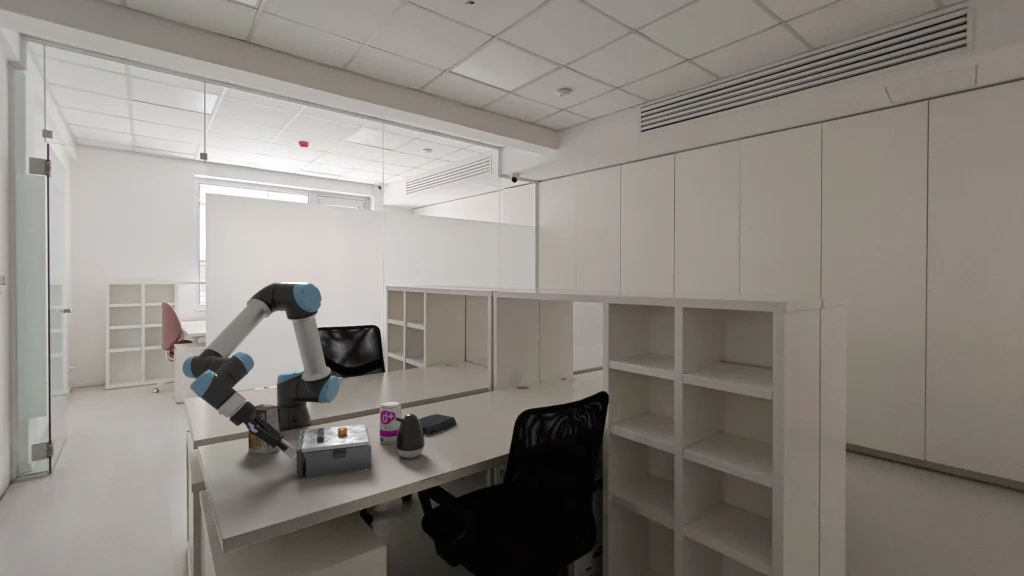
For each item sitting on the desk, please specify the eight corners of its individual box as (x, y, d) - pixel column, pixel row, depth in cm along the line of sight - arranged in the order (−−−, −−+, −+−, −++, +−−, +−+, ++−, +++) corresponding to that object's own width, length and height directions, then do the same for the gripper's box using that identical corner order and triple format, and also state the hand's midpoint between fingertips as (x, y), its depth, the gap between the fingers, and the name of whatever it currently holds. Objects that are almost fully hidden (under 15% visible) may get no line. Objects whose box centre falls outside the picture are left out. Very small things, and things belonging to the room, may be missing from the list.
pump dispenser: (393, 452, 171) (393, 411, 171) (421, 449, 175) (421, 408, 174) (397, 462, 161) (397, 419, 161) (427, 458, 165) (427, 416, 165)
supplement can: (395, 445, 178) (395, 406, 178) (375, 444, 180) (375, 405, 179) (404, 438, 186) (404, 401, 186) (385, 437, 188) (385, 400, 187)
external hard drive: (405, 432, 196) (405, 422, 195) (435, 420, 212) (435, 411, 212) (429, 438, 189) (429, 427, 189) (458, 425, 205) (458, 416, 205)
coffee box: (280, 448, 174) (280, 405, 174) (266, 454, 168) (266, 410, 168) (262, 445, 177) (262, 403, 177) (247, 451, 171) (247, 407, 170)
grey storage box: (305, 480, 147) (305, 454, 146) (308, 453, 169) (309, 431, 169) (371, 471, 154) (371, 447, 154) (366, 447, 176) (366, 425, 176)
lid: (296, 477, 147) (296, 443, 147) (300, 455, 166) (300, 424, 166) (368, 468, 155) (368, 435, 155) (364, 447, 174) (364, 418, 174)
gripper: (232, 412, 155) (287, 456, 161) (223, 424, 143) (283, 470, 149) (250, 395, 157) (304, 439, 163) (243, 405, 144) (301, 452, 151)
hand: (294, 454), depth 156 cm, fingers closed
